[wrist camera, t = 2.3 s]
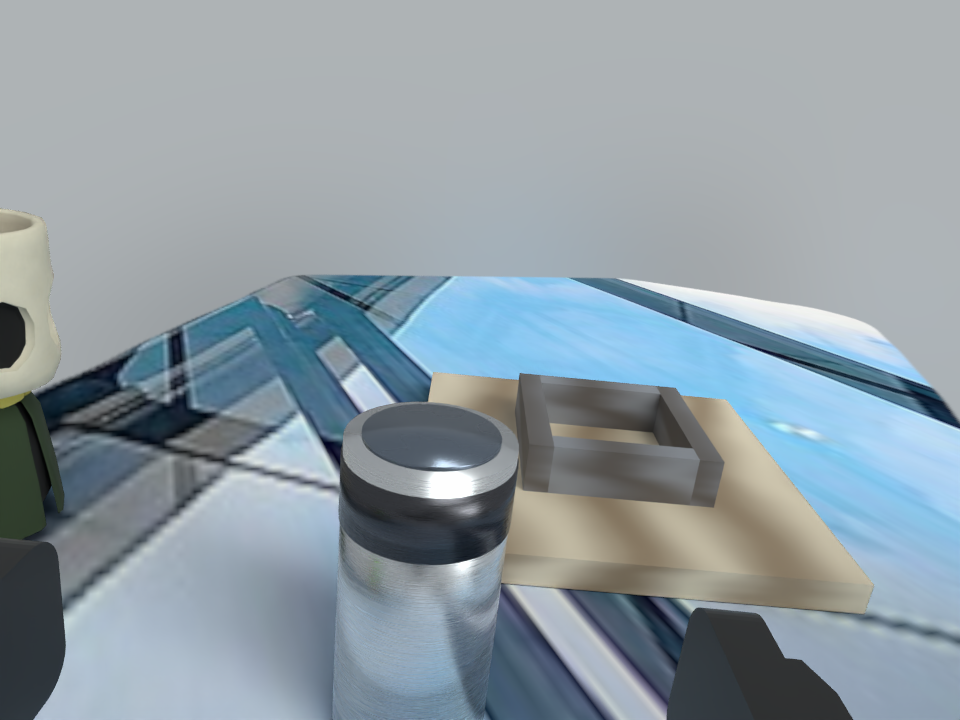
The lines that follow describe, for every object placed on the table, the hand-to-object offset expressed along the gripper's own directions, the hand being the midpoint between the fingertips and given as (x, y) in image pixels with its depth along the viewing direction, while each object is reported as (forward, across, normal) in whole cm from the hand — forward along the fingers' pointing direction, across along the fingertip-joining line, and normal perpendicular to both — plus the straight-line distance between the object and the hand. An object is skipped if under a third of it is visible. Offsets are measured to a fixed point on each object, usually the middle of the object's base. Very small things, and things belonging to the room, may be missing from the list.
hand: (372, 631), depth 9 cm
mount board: (+28, -10, +12) cm, 32 cm away
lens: (+12, 0, +13) cm, 17 cm away
